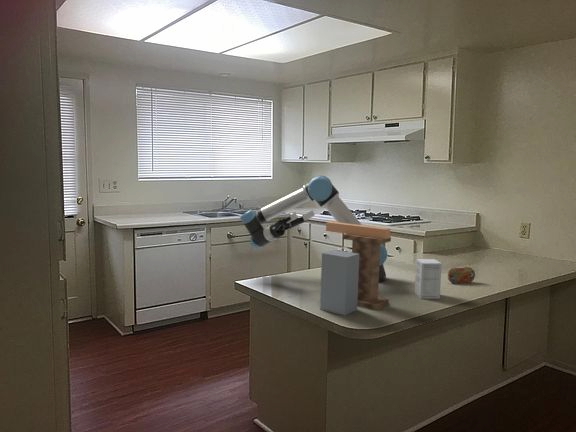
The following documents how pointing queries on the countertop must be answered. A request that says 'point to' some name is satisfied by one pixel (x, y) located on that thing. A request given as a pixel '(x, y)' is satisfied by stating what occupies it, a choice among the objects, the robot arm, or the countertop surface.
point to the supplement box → (428, 278)
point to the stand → (368, 269)
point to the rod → (358, 230)
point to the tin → (461, 275)
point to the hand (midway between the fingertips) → (305, 214)
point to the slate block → (339, 282)
